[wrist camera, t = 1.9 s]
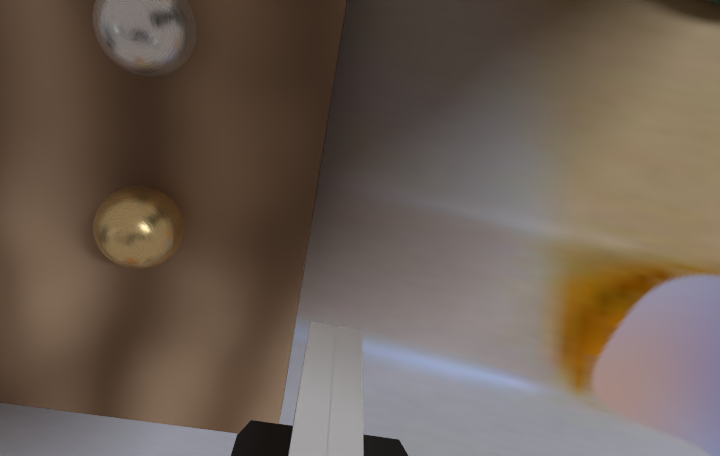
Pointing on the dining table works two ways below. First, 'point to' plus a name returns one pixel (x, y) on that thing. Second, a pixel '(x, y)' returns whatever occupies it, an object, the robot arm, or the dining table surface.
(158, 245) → the brass ball
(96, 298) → the hole plate
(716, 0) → the goblet
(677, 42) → the dining table surface
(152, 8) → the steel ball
